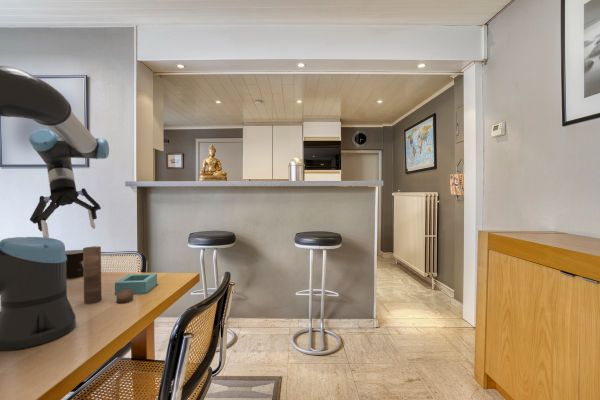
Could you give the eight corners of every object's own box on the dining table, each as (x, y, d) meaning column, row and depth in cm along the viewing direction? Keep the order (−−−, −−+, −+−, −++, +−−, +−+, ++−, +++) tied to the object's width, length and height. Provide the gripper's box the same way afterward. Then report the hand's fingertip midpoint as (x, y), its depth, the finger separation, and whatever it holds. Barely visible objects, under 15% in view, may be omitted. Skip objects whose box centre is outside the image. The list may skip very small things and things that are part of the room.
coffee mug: (78, 272, 122) (77, 249, 121) (92, 274, 119) (92, 250, 119) (46, 280, 111) (46, 254, 110) (62, 282, 108) (61, 256, 108)
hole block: (146, 293, 97) (146, 281, 96) (114, 294, 95) (114, 282, 95) (157, 284, 106) (157, 273, 106) (128, 284, 105) (128, 274, 105)
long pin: (96, 303, 88) (95, 248, 87) (80, 303, 87) (79, 249, 87) (104, 297, 92) (103, 246, 92) (89, 298, 92) (88, 246, 91)
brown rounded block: (129, 303, 88) (129, 293, 88) (113, 304, 88) (113, 294, 88) (135, 298, 93) (135, 289, 93) (121, 298, 92) (120, 289, 92)
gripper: (103, 181, 116) (113, 226, 109) (24, 195, 105) (30, 247, 98) (98, 171, 110) (108, 218, 103) (13, 185, 98) (18, 239, 91)
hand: (70, 232), depth 100 cm, fingers open, 13 cm apart
